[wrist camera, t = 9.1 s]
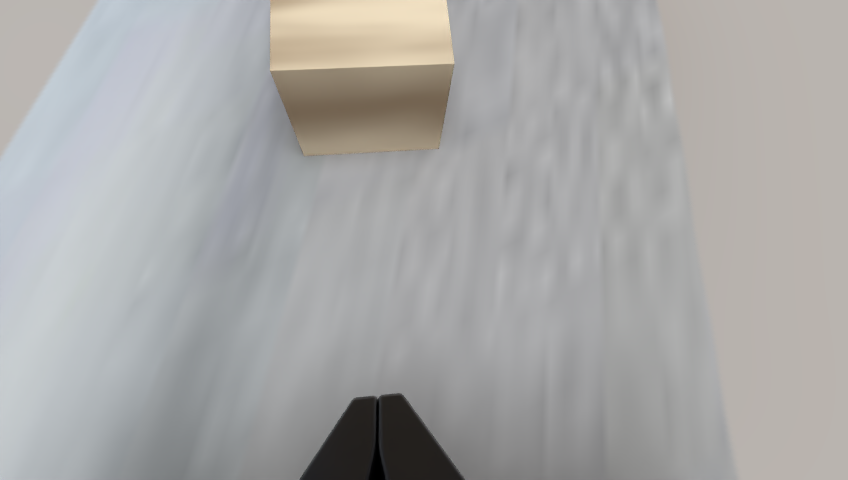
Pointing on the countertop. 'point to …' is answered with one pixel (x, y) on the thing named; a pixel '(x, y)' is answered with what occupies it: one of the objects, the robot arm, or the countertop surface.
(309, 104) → the pine block
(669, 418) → the countertop surface
